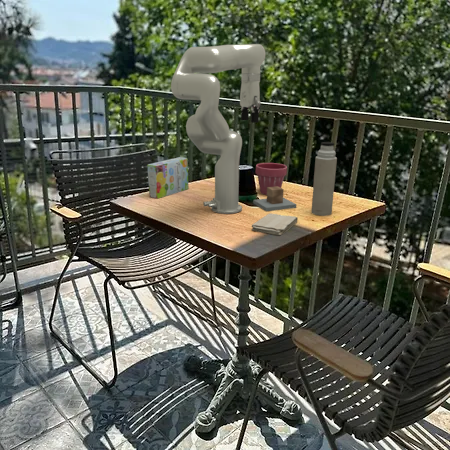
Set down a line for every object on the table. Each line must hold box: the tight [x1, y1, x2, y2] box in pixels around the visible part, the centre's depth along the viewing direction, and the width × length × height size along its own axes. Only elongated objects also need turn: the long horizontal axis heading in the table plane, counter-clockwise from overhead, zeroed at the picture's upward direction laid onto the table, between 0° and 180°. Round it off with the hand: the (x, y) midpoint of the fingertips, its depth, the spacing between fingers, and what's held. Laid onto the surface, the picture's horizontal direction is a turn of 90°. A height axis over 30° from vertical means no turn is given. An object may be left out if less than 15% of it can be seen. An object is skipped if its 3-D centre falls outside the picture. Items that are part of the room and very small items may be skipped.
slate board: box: [252, 197, 297, 212], centre depth 182 cm, size 14×12×2 cm
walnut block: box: [266, 186, 284, 204], centre depth 180 cm, size 5×5×6 cm
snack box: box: [146, 156, 190, 200], centre depth 197 cm, size 21×6×15 cm, turn 144°
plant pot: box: [255, 162, 288, 196], centre depth 199 cm, size 14×14×13 cm
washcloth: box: [251, 212, 299, 236], centre depth 157 cm, size 12×18×3 cm, turn 153°
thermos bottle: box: [311, 141, 338, 217], centre depth 169 cm, size 8×8×28 cm
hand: (249, 121), depth 183 cm, fingers open, 9 cm apart
